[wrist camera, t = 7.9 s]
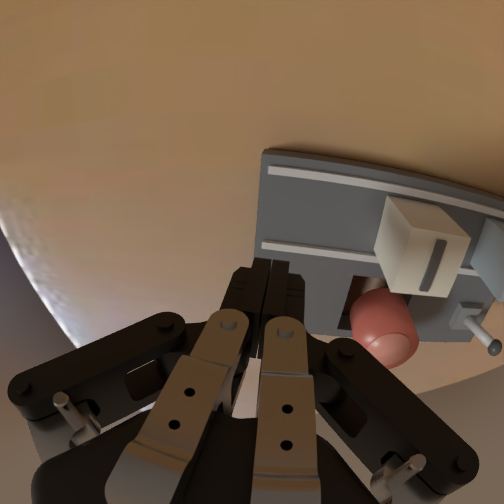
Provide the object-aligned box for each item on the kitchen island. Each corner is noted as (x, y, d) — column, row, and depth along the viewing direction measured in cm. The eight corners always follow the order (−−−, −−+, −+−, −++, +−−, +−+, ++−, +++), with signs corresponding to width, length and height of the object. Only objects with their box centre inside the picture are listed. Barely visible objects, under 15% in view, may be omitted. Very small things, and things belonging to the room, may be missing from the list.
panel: (517, 202, 18) (566, 240, 11) (463, 328, 25) (487, 380, 18) (264, 148, 20) (249, 174, 13) (251, 310, 27) (238, 372, 20)
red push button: (413, 290, 20) (429, 327, 17) (394, 334, 23) (404, 372, 19) (358, 284, 21) (367, 323, 17) (343, 331, 23) (347, 370, 19)
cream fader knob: (438, 205, 17) (472, 239, 13) (422, 256, 19) (448, 299, 15) (386, 195, 18) (413, 228, 13) (373, 249, 20) (391, 294, 15)
